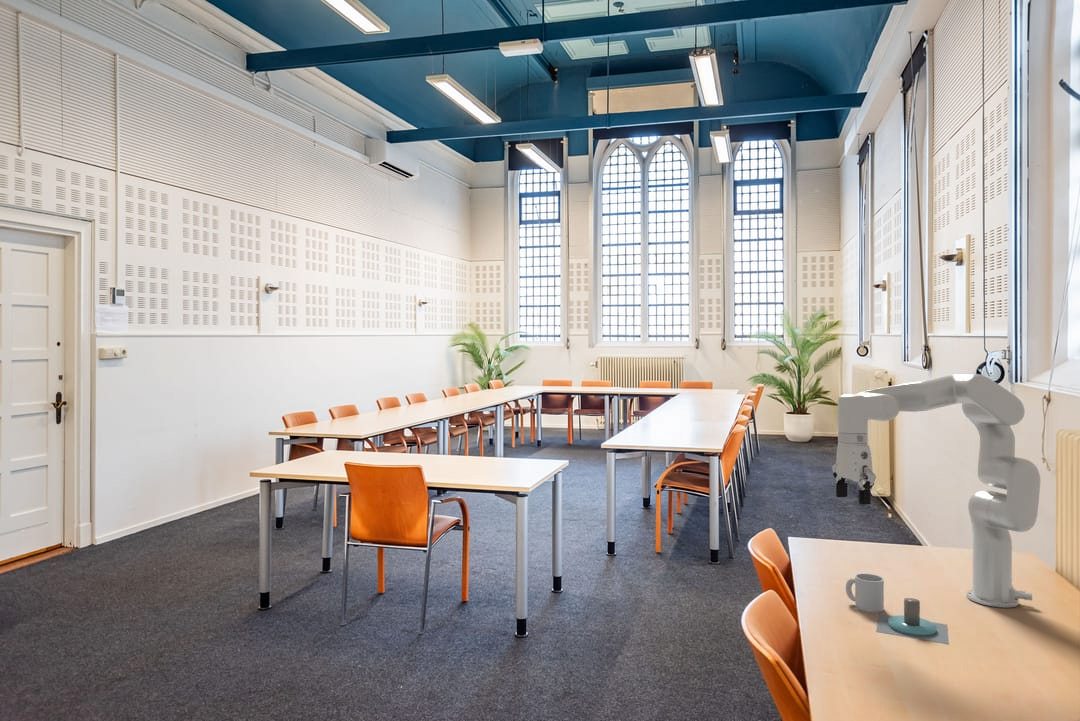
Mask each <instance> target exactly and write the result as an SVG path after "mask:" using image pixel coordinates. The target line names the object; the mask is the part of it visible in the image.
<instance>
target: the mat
mask: <svg viewBox="0 0 1080 721" xmlns="http://www.w3.org/2000/svg"><path fill="white" fill-rule="evenodd" d="M892 616H893V615H892V614H891V615H890V614H884V613H879V614H878V619H877V624H876V630H875V632H876V633H880V634H886V635H892V636H899V637H905V638H910V639H916V640H922V641H926V642H927V641H928V642H933V643H939V644H945V645H949V644H950V643H949V633H948V624H946V623H941V622H934V621H933V622H932V621H931V622H932V623H933V624H935V625H936V634H935V635H933V636H927V637H920V636H911V635H907V634H903V633H900V632H897V631H895V630H893V629H891V628H890V627H889V625H888V619H889V618H890V617H892Z"/></svg>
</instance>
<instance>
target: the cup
mask: <svg viewBox="0 0 1080 721" xmlns="http://www.w3.org/2000/svg"><path fill="white" fill-rule="evenodd" d="M884 581H885V580H884V578H883V576H879V575H877V574H871V573H856V574H855V575H854V577H850V578H849V579H847V581H846V582H845V583H846V584H845V592H846V596H847V597H848V599H849V600H850V601H852V602H854V603H855V608H856V609H858V610H860V611H862V612H867V613H875V614H876V613H881V612H884V610H885V609H884V608H885V607H884V606H885V598H884V597H885V595H884V594H885V589H884V583H885V582H884ZM853 585H855V586H854V589H855V590H854V591H855V592H854V594H853V592H852V591H853V589H852V588H853Z"/></svg>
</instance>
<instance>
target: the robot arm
mask: <svg viewBox="0 0 1080 721" xmlns="http://www.w3.org/2000/svg"><path fill="white" fill-rule="evenodd" d="M957 404H961V410H962V411H963V412H962V413H963V414H964V416H965V417H966V418H967V419H968V420H969V421H970V422H971V423H972V424H973V426H974V427H975V428H976V431H977V433H978V434H979V449H978V450H979V451H978V462H977V476H978V480H979V481H980V482H981V483H982V484H984V485H986V486H989V487H992V488H997V489H1003V490H1006V493H1004V492H1003V493H1002V492H997V491H994V490H979V491H977V492H974V493H973V494H972V495H971V496H970V498H969V500H968V505H967V507H968V508H967V509H968V515H969V518H970V522H971V529H972V530H971V531H972V589H969V590H967V591H966V597H967V598H968V599H969V600H970V601H973V602H975V603H978V604H980V605H984V606H988V607H989V606H990V607H995V608H1016V607H1018V606H1019V603H1020V601H1019V600H1025V601H1033V593H1030V592H1026V591H1025V590H1017V589H1016V588H1014V586H1013V563H1012V562H1013V559H1012V558H1013V551H1012V550H1013V543H1012V542H1013V541H1012V537H1011V534H1010V532H1009V531H1013V532H1016V533H1025V532H1028V531H1030V530H1031V529H1032V528H1033V527H1034V526H1035V524H1036V522H1037V518H1038V513H1039V512H1038V511H1039V504H1040V502H1039V501H1040V491H1041V475H1040V474H1041V473H1040V471H1039V469H1038V467H1037V466H1036V465H1035V464H1034V463H1033V462H1032V461H1030V460H1028V459H1026V458H1022V457H1016V455H1015V451H1016V449H1015V448H1016V437H1015V432H1014V431H1013V429H1012V427H1011V426H1015V425H1017V424H1019V423H1020V422H1021V421H1023V419H1024V417H1025V405H1024V404H1023V402H1022V400H1021V399H1020V398H1019V397H1018V396H1016V395H1015V394H1013V393H1012V392H1011V391H1009V390H1008V389H1006V388H1005V387H1003V386H1001V385H1000V384H999V383H997V382H995V381H994V380H992V379H991V378H989V377H987V376H985V375H983V374H979V373H951V374H950V373H949V374H945V375H942V376H941V375H940V376H937V377H933V378H929V379H923V380H919V381H913V382H907V383H902V384H897V385H889V386H884V387H878V388H877V387H876V388H874V389H869V390H865V391H864V390H863V391H861V392H858V393H856V394H851V393H850V394H841V395H839V397H838V399H837V447H836V458H835V463H834V464H833V465H831V469H832V475H833V477H834V482H835V488H836V489H835V494H836V495H835V496H836V498H847V497H848V482H847V481H852V482H856V483H857V484H858V486H859V488H860V489H858V504H859V505H861V506H862V505H870V504H871V500H872V499H871V495H872V494H871V490H873V486H874V485H875V481H876V479H877V476H876V474H875V473H874V472H873V460H872V453H871V448H870V445H869V443H868V442H869V440H868V439H869V438H868V437H869V435H868V434H869V423H868V421H869V420H871V421H872V420H873V421H880V422H888V421H891V420H893V419H895V418H896V417H897V416H898V415H899V413H900V412H908V413H910V412H912V413H916V412H917V413H918V412H927V411H932V410H935V409H939V408H943V407H948V406H952V405H957Z"/></svg>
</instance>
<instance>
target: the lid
mask: <svg viewBox="0 0 1080 721" xmlns="http://www.w3.org/2000/svg"><path fill="white" fill-rule="evenodd" d="M920 602H921V601H920V600H919V599H917V598H912V597H906V598H904V599H903V615H891V616H892V617H890V618H889V619H888V625H889V627H890V628H891V629H893V630H895V631H897V632H900V633H903V634H907V635H911V636H920V637H927V636H933V635H935V634H936V625H935V624H933V623H932V621H930V620H927V619H925V618H921V608H920V607H921V604H920Z"/></svg>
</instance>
